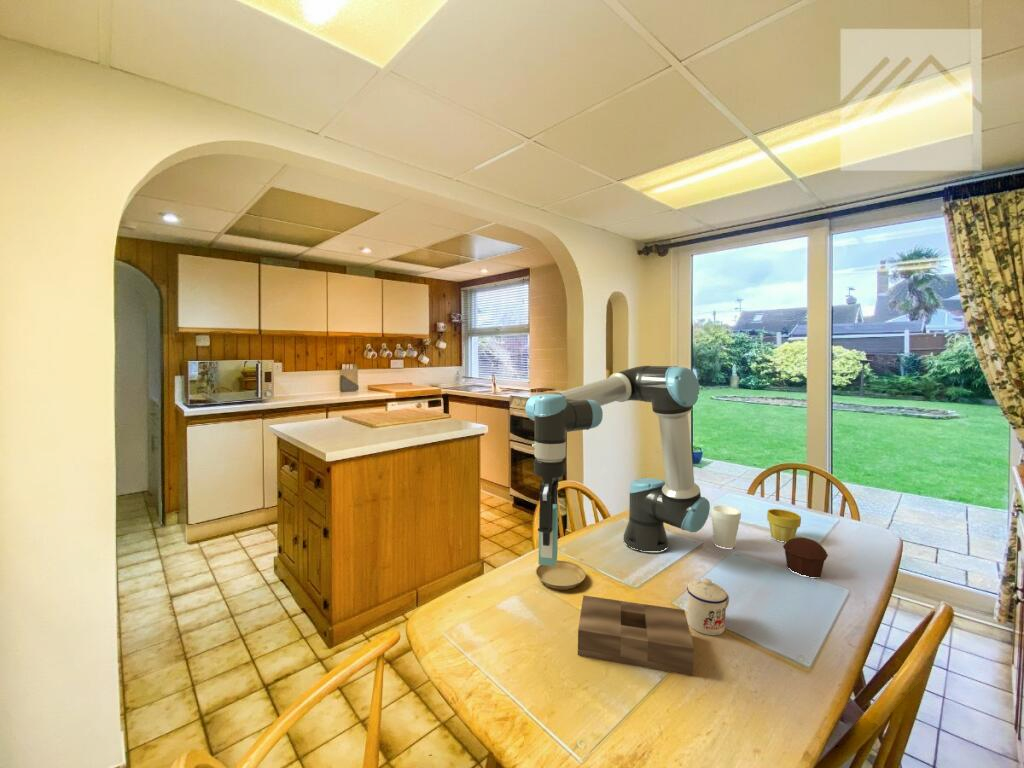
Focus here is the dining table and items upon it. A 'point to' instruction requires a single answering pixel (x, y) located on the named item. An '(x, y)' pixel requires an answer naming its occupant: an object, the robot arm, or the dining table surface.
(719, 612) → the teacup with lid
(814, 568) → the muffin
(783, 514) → the plant pot
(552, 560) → the peg
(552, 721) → the dining table surface
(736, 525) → the foam cup
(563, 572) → the plant saucer
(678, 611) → the hole board
